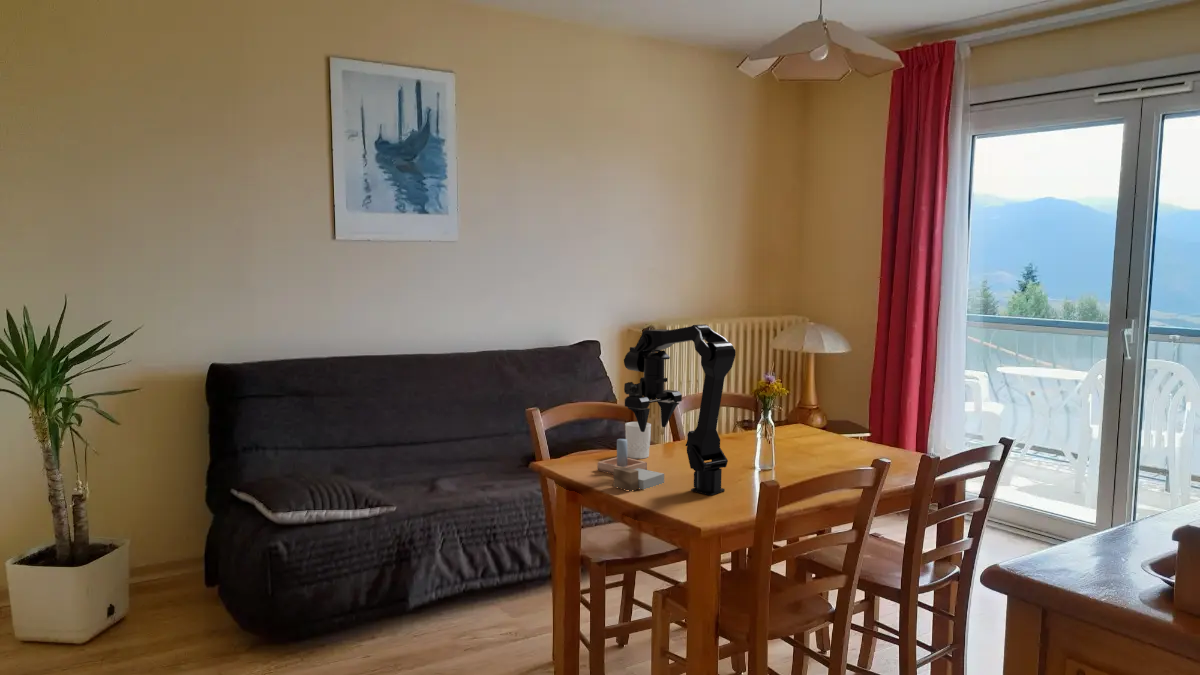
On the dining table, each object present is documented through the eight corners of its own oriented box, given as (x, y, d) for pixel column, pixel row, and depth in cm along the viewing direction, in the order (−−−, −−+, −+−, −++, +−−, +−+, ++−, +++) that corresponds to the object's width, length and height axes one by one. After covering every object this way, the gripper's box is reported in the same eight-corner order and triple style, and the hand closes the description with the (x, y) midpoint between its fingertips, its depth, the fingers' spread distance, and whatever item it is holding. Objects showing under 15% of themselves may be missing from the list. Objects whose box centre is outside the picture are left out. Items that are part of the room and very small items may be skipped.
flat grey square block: (664, 484, 220) (664, 473, 220) (643, 491, 213) (643, 480, 213) (638, 478, 226) (638, 468, 226) (617, 485, 219) (617, 474, 219)
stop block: (638, 489, 214) (638, 470, 213) (630, 491, 212) (630, 472, 211) (621, 484, 218) (621, 466, 217) (613, 487, 216) (613, 468, 215)
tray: (646, 470, 233) (647, 462, 233) (623, 476, 226) (623, 468, 226) (620, 464, 240) (621, 456, 240) (597, 470, 233) (597, 462, 233)
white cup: (655, 455, 251) (655, 423, 251) (643, 460, 245) (643, 427, 244) (632, 452, 255) (632, 420, 255) (620, 457, 249) (620, 424, 248)
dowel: (629, 467, 233) (629, 439, 232) (622, 469, 231) (622, 441, 230) (621, 465, 235) (621, 438, 234) (614, 467, 233) (614, 440, 232)
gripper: (653, 368, 240) (652, 420, 242) (610, 374, 227) (609, 429, 228) (683, 372, 232) (682, 426, 234) (640, 378, 219) (639, 436, 220)
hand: (653, 429), depth 229 cm, fingers open, 9 cm apart
